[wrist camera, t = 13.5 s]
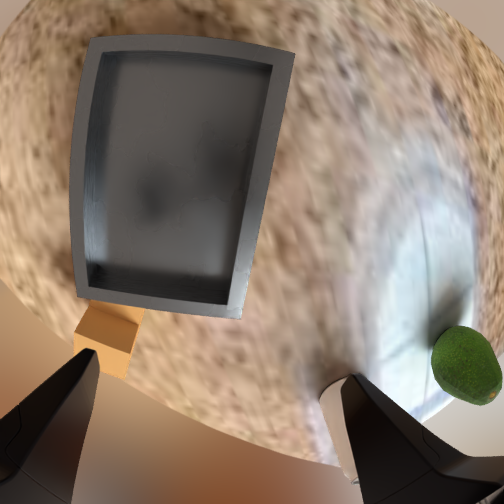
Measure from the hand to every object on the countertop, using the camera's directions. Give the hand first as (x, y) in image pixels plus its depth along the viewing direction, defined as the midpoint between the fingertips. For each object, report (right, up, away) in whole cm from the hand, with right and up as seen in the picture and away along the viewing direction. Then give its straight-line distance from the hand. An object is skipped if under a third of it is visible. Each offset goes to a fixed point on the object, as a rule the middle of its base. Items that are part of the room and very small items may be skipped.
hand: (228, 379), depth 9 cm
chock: (-9, +1, +12) cm, 15 cm away
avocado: (+25, -7, +20) cm, 32 cm away
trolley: (-4, +10, +9) cm, 13 cm away
